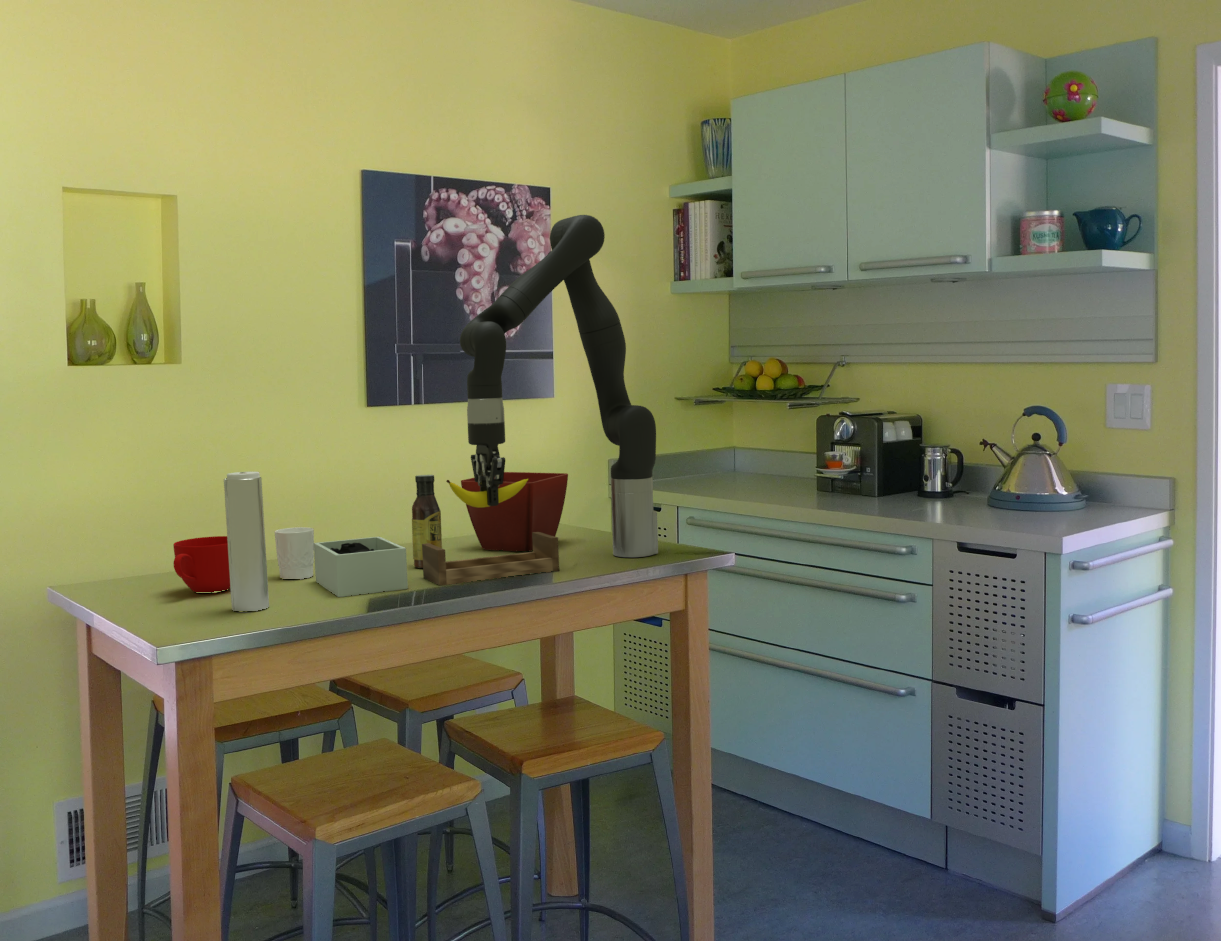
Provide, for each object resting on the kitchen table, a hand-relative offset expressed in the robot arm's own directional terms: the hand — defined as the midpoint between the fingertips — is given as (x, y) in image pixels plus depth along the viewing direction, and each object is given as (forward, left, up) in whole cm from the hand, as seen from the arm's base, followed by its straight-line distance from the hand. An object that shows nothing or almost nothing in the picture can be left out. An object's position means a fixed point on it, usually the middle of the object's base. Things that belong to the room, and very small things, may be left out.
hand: (489, 504), depth 231 cm
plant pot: (-18, -29, -15) cm, 37 cm away
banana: (0, 0, -1) cm, 1 cm away
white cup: (+35, -22, -15) cm, 44 cm away
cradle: (0, 0, -15) cm, 15 cm away
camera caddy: (+26, -5, -15) cm, 30 cm away
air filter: (+49, +5, -15) cm, 51 cm away
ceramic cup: (+54, -16, -15) cm, 58 cm away
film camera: (+26, -4, -15) cm, 30 cm away
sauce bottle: (+8, -17, -15) cm, 24 cm away
